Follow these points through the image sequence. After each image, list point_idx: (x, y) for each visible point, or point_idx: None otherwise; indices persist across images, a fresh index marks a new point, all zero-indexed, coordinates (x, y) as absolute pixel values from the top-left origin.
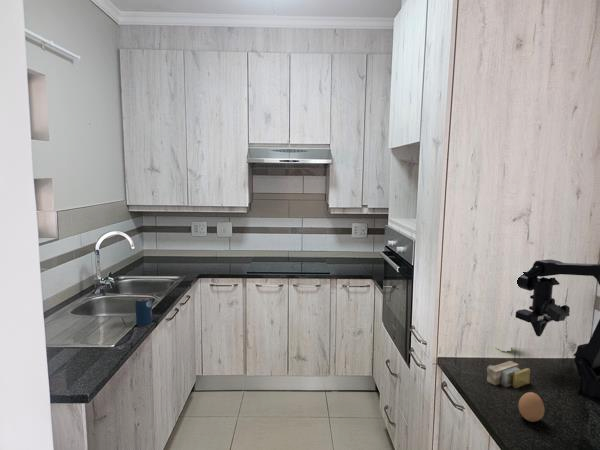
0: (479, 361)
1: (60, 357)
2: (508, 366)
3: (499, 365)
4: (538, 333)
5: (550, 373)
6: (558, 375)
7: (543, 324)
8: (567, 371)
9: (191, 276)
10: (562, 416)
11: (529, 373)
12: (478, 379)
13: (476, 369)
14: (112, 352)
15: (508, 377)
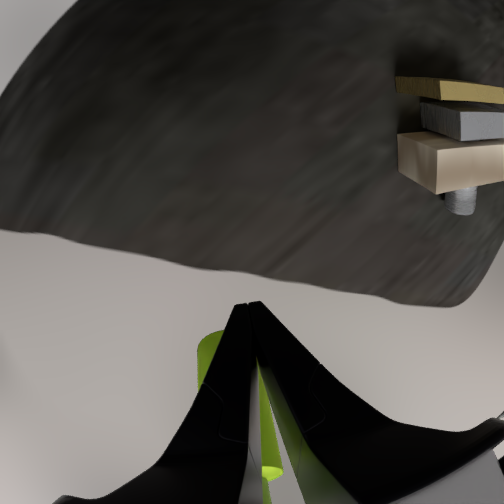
0: (405, 279)
1: None
2: (482, 153)
3: (496, 175)
4: (280, 326)
5: (201, 115)
6: (175, 88)
7: (250, 436)
8: (90, 123)
9: None
10: None
11: (429, 79)
12: None
13: (457, 231)
14: None
15: (498, 109)
